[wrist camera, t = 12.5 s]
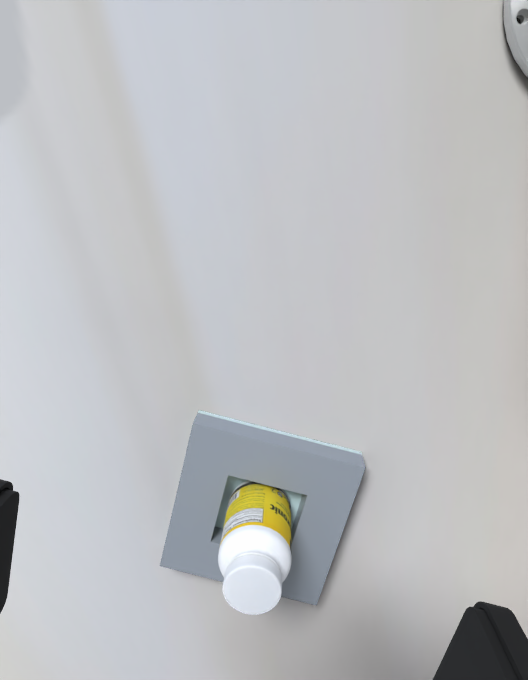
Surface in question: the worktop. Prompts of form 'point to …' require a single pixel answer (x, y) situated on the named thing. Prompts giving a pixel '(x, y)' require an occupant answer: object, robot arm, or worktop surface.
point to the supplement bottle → (255, 547)
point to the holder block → (269, 469)
